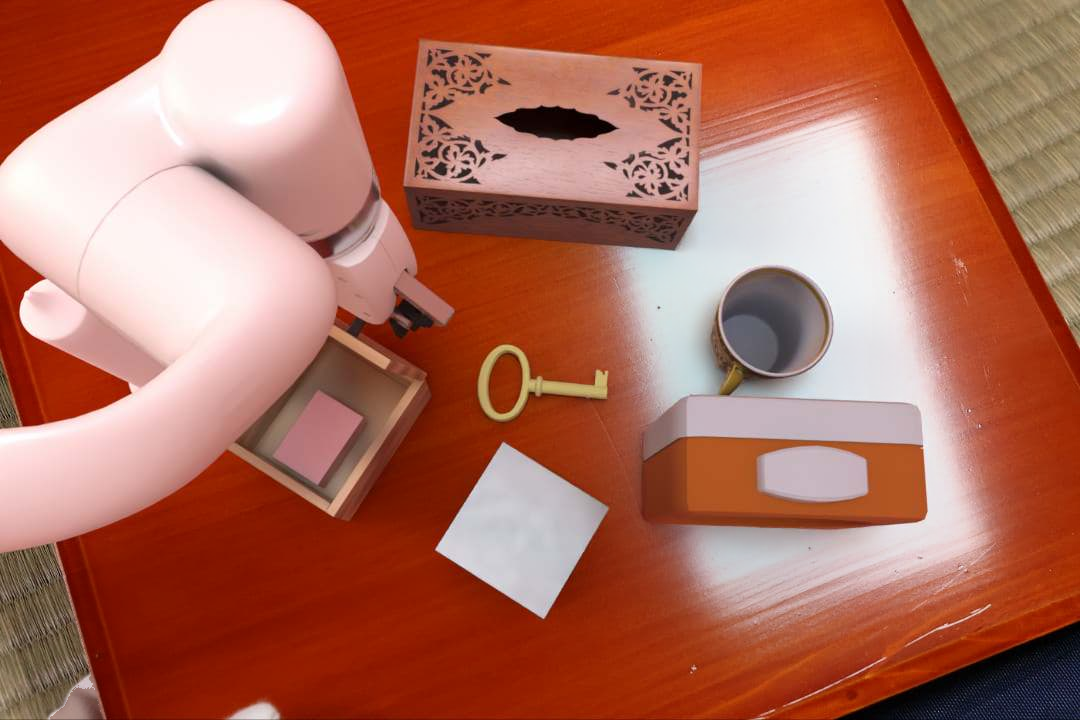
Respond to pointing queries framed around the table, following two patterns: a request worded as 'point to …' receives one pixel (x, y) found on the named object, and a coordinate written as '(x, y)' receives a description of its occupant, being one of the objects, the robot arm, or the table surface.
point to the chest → (361, 389)
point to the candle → (84, 335)
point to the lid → (373, 349)
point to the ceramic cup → (770, 326)
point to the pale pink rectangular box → (320, 439)
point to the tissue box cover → (553, 145)
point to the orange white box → (784, 463)
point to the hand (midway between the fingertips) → (357, 288)
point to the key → (532, 385)
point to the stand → (522, 530)
